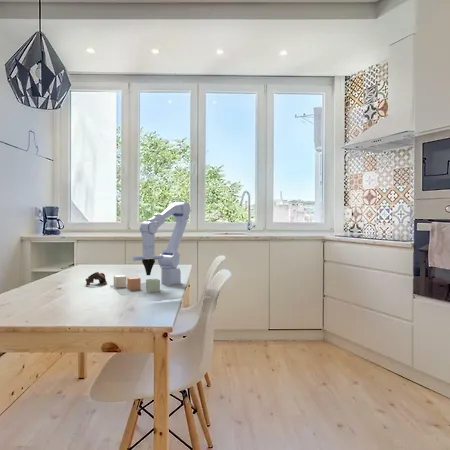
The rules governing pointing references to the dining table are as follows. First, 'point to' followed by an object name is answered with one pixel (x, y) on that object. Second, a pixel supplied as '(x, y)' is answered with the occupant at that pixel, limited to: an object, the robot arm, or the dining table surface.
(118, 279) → the cream cube
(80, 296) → the dining table surface
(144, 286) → the board
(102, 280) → the dark brown arched piece
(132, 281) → the terracotta cube
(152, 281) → the sage cube
